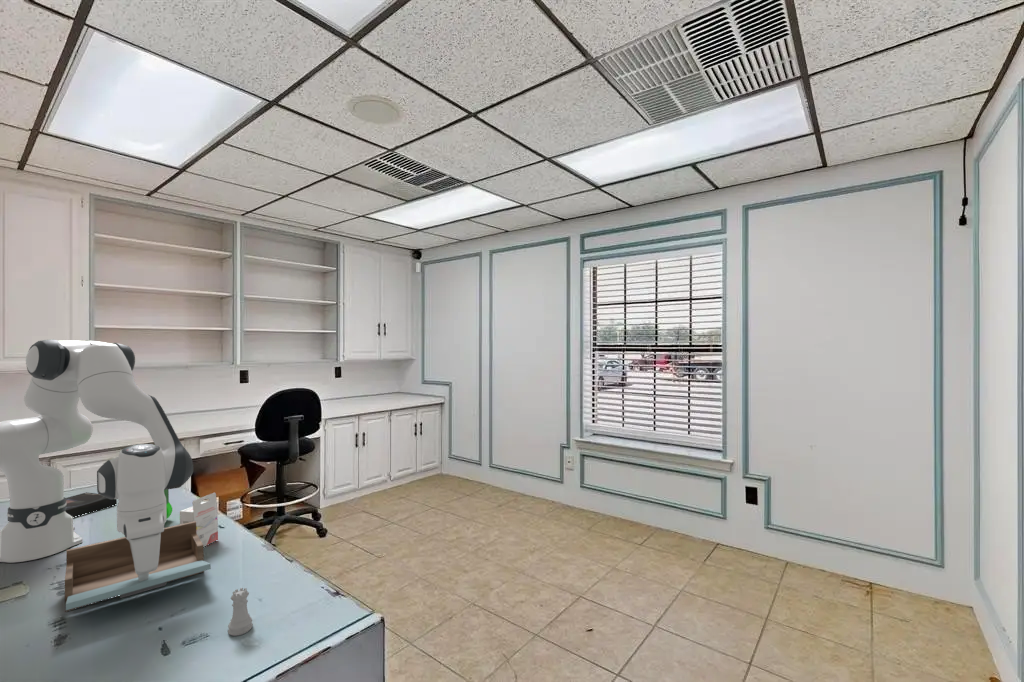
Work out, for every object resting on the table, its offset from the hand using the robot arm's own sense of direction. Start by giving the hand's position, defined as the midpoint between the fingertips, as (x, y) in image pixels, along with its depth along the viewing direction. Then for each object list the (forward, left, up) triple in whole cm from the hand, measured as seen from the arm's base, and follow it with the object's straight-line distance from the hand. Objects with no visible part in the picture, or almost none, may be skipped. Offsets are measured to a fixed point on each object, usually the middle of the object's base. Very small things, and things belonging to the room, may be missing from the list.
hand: (143, 578), depth 106 cm
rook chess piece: (+26, +14, -6) cm, 30 cm away
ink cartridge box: (-29, +15, -6) cm, 33 cm away
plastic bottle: (-61, +7, -6) cm, 62 cm away
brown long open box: (-15, 0, -6) cm, 16 cm away
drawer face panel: (-8, 0, -3) cm, 8 cm away
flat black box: (-98, -13, -7) cm, 99 cm away
